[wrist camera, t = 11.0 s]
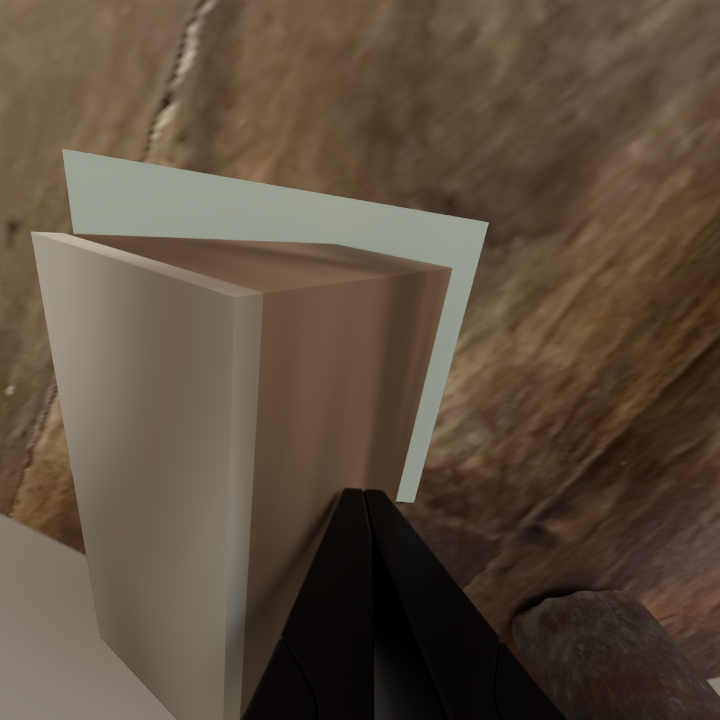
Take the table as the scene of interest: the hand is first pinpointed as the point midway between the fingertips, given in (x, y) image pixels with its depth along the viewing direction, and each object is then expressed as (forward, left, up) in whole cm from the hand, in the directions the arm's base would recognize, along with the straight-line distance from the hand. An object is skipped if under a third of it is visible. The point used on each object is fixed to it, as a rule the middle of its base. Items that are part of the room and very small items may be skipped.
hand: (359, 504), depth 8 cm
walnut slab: (-1, 0, -5) cm, 5 cm away
